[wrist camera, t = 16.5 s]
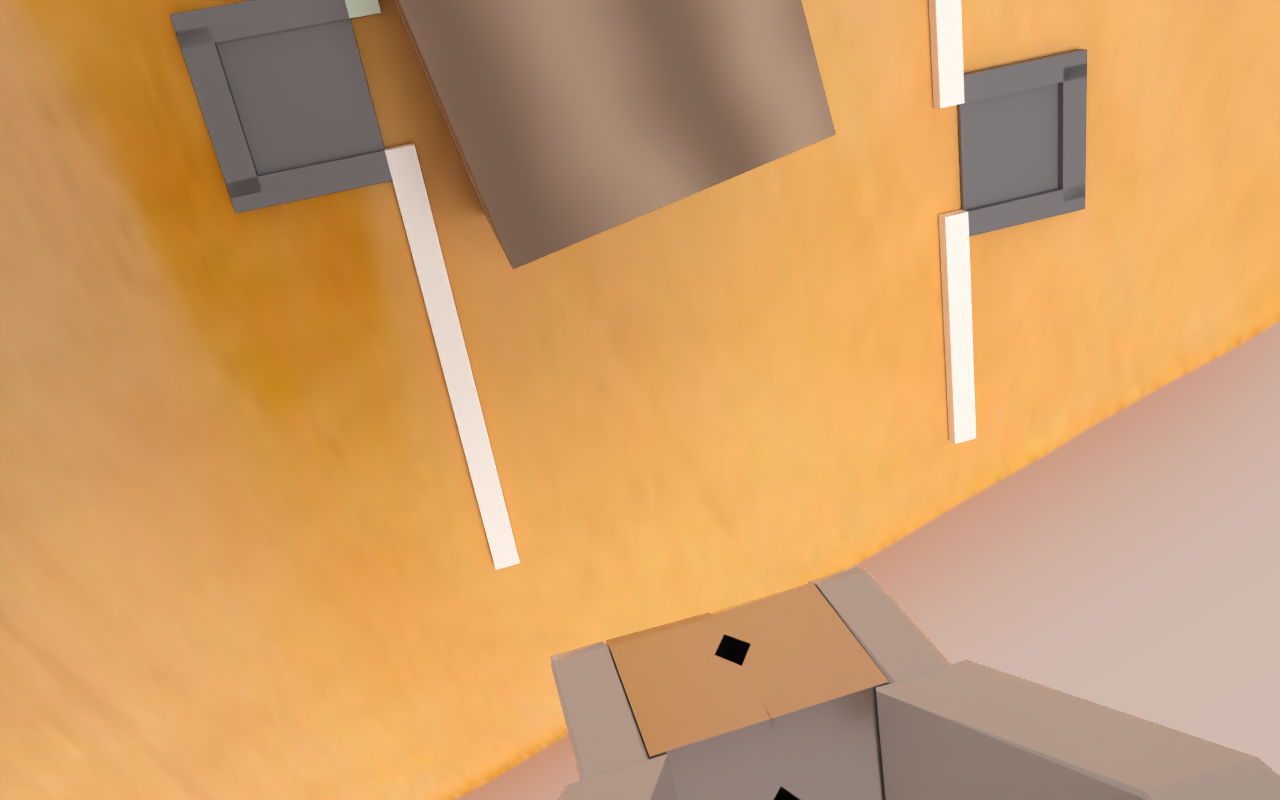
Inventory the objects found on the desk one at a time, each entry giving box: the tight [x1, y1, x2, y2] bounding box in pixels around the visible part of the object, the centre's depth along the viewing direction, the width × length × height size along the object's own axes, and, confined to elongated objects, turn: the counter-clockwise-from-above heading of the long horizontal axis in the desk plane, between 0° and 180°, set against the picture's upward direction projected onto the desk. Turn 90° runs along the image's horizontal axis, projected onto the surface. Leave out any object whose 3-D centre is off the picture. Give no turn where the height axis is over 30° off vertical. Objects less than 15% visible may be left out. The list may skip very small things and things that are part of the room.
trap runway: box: [170, 0, 1087, 570], centre depth 42 cm, size 38×32×4 cm
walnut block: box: [393, 0, 835, 269], centre depth 36 cm, size 12×12×10 cm
